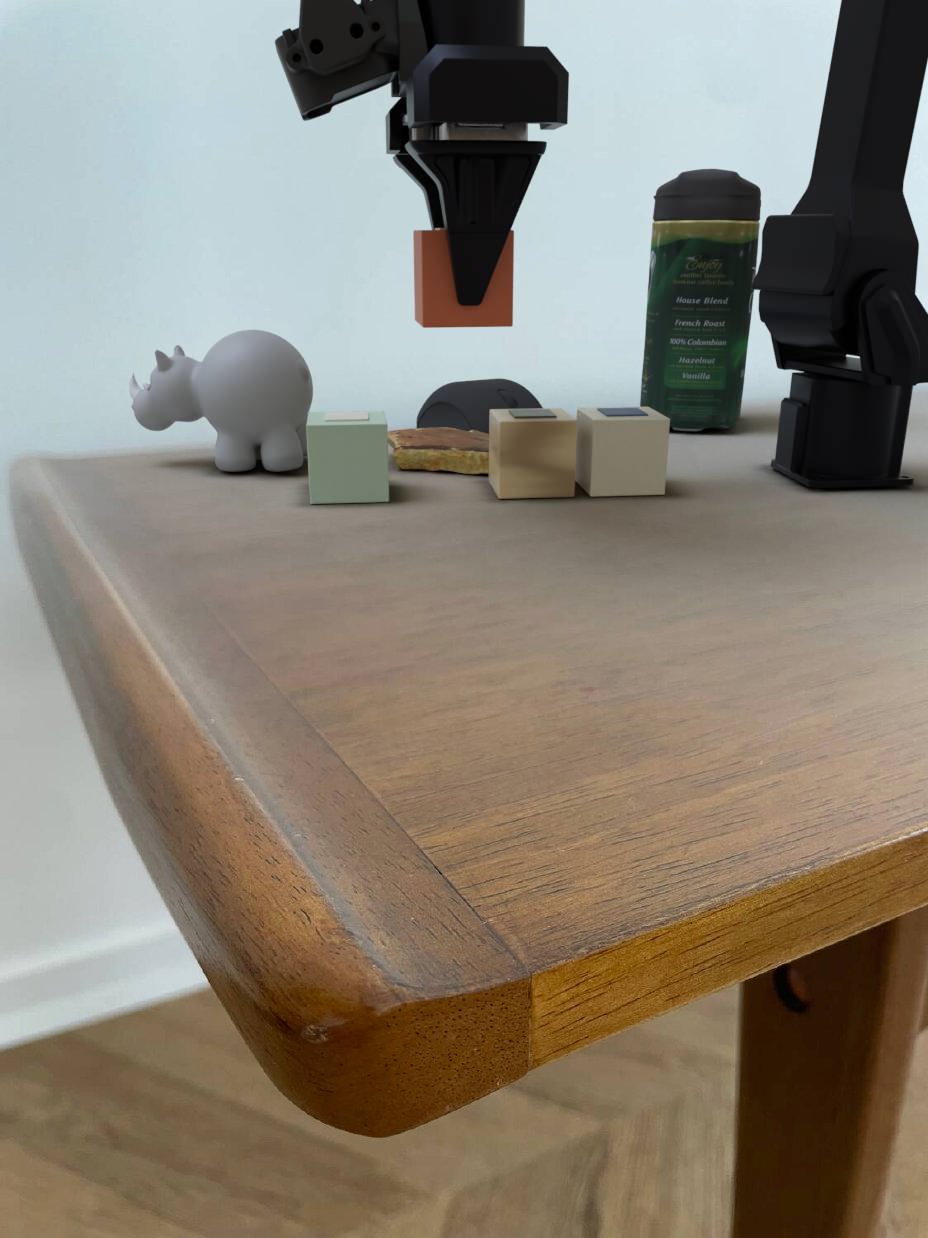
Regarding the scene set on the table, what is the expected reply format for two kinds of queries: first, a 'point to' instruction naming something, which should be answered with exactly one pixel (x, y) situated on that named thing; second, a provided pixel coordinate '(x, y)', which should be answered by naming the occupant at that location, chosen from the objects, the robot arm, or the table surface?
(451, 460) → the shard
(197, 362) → the toy rhinoceros
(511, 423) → the row block
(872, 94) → the robot arm
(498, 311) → the orange cube
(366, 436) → the row block
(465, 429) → the computer mouse
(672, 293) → the coffee jar
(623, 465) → the row block
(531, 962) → the table surface
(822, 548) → the table surface
